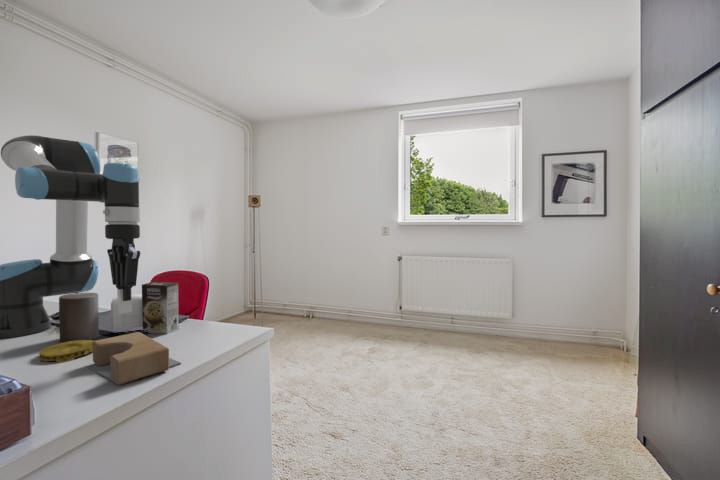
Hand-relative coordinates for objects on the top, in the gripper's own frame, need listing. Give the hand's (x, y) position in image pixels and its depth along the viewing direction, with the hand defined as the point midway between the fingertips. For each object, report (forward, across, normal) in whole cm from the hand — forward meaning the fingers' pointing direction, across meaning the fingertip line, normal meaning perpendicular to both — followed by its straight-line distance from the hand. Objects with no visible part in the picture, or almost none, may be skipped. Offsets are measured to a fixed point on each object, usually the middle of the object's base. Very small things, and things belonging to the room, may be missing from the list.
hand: (124, 312), depth 92 cm
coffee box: (+13, -17, +18) cm, 28 cm away
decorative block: (+9, -3, -1) cm, 10 cm away
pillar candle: (+13, -30, 0) cm, 33 cm away
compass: (+13, -17, -7) cm, 23 cm away
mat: (+13, +7, -1) cm, 14 cm away
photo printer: (+13, -25, +12) cm, 31 cm away
